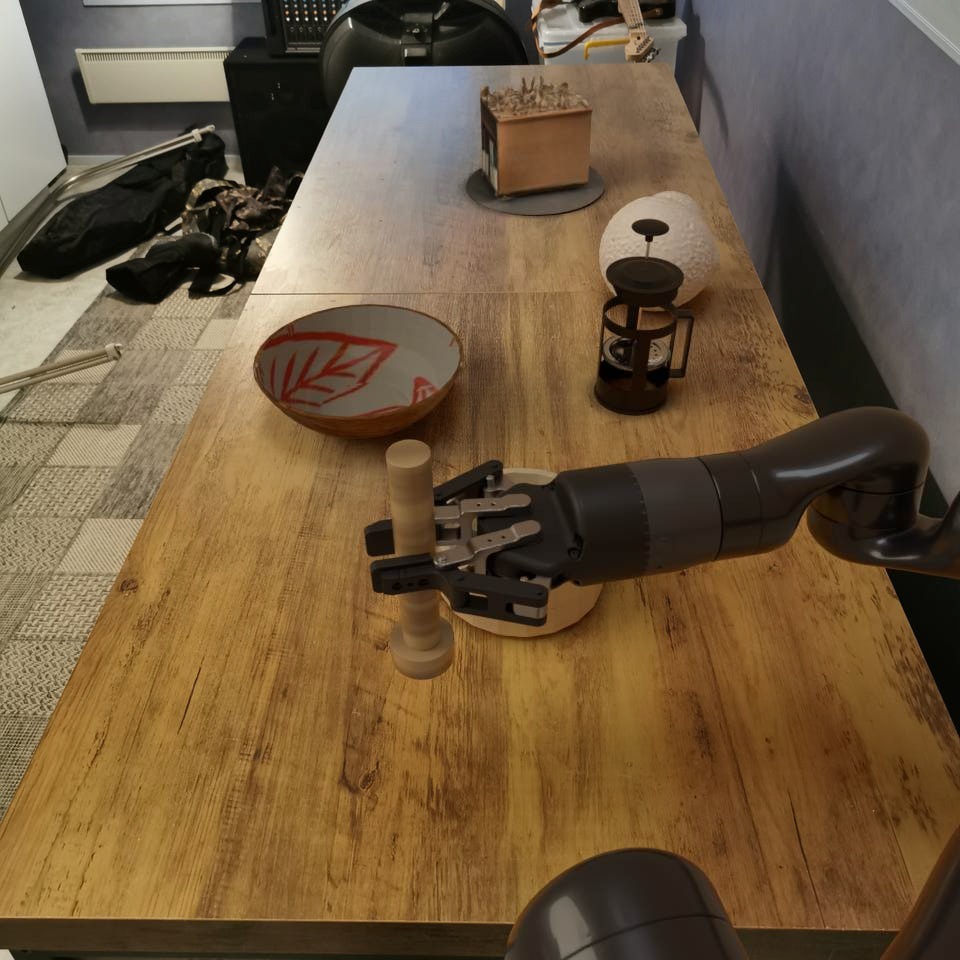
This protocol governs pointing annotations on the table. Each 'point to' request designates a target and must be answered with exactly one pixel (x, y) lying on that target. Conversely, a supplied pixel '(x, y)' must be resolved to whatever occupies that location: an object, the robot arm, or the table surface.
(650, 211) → the decorative orb
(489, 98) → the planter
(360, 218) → the table surface
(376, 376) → the bowl
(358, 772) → the table surface
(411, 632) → the wooden pestle
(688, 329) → the french press
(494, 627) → the cream open cylinder
